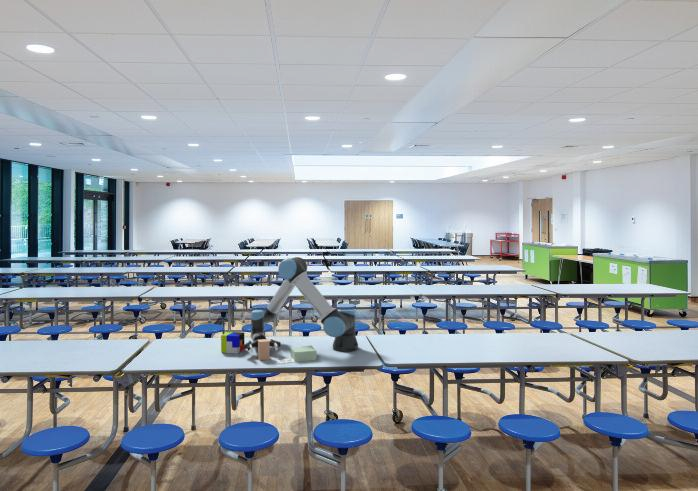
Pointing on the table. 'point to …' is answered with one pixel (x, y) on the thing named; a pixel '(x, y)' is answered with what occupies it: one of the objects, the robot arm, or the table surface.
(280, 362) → the page
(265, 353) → the brick
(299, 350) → the base block
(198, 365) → the table surface
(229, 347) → the puzzle toy
